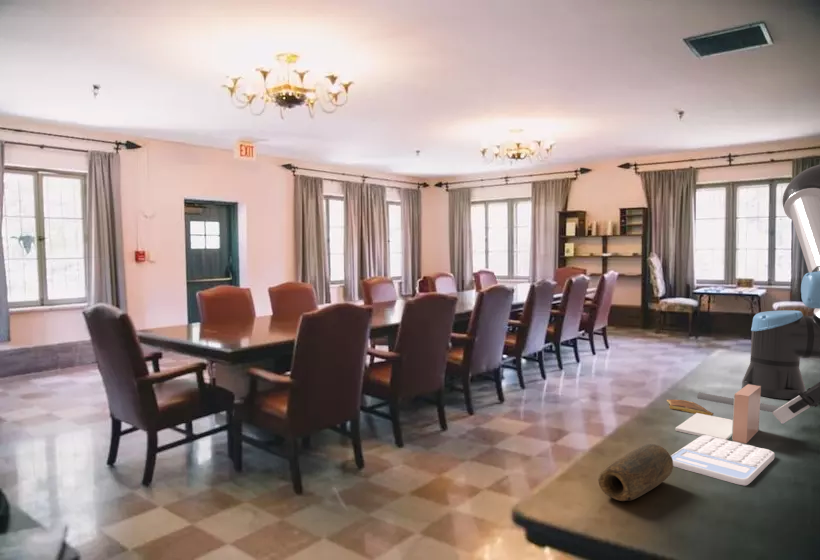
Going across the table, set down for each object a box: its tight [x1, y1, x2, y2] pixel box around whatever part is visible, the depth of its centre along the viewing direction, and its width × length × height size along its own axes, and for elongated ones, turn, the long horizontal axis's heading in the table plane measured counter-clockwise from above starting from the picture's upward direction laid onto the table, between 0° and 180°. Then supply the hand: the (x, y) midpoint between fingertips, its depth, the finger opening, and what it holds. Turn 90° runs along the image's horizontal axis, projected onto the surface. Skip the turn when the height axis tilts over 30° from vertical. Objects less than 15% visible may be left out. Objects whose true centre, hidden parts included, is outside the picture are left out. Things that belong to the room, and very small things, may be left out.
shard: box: [666, 399, 714, 416], centre depth 136 cm, size 11×8×2 cm
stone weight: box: [598, 443, 674, 502], centre depth 90 cm, size 15×7×7 cm, turn 134°
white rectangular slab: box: [674, 413, 733, 441], centre depth 123 cm, size 16×10×1 cm, turn 137°
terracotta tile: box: [731, 384, 761, 445], centre depth 118 cm, size 12×3×10 cm, turn 137°
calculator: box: [670, 435, 776, 487], centre depth 104 cm, size 13×20×2 cm, turn 134°
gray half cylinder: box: [696, 392, 781, 413], centre depth 143 cm, size 4×20×2 cm, turn 47°
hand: (777, 417), depth 114 cm, fingers closed
